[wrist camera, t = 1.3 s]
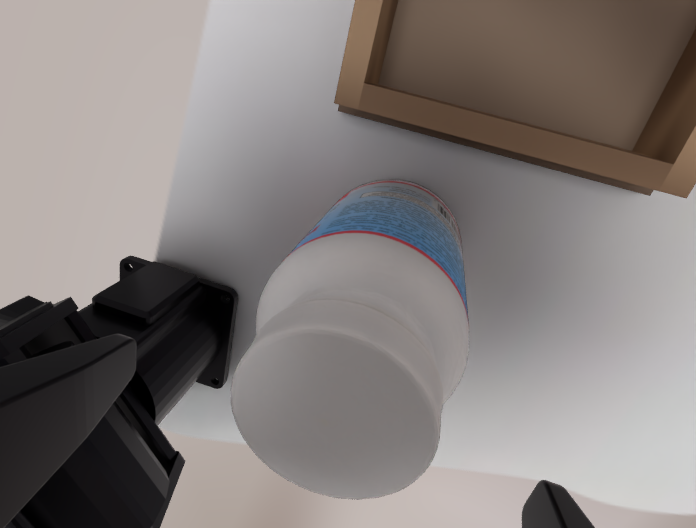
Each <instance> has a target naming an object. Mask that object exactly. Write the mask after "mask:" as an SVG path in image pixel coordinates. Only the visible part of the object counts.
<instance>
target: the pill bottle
mask: <svg viewBox="0 0 696 528" xmlns="http://www.w3.org/2000/svg"><path fill="white" fill-rule="evenodd" d="M468 353H469V322H468V311H467V300H466V287H465V276H464V265H463V255H462V245H461V237H460V233H459V228H458V226H457V223H456V220H455V218H454V216H453V214H452V213H451V211H450V210H449V208H448V207H447V206H446V204H445V203H444V202H443V201H442V200H441V199H440V198H439V197H438V196H437V195H435V194H434V193H433V192H431V191H430V190H428V189H426V188H424V187H422V186H420V185H418V184H415V183H412V182H407V181H402V180H381V181H375V182H370V183H367V184H364V185H361V186H359V187H356V188H355V189H353V190H351V191H350V192H348V193H347V194H346V195H344V196H343V197H342V198H341V199H340V200H339V201H338V202H337V203H336V204H335V205H334V206H333V207H332V208H331V209H330V210H329V211H328V212H327V214H326V215H325V216H324V217H323V218H322V219H321V220H320V221H319V222H318V223H317V224H316V226H315V227H314V228H313V229H312V230H311V231H310V232H309V233H308V234H307V235H306V236H305V237H304V238H303V240H302V241H301V242H299V243H298V245H297V246H296V247H295V249H294V250H293V251H292V252H291V253H290V254H289V255H288V256H287V257H286V258H285V259H284V260H283V262H282V263H281V264H280V265H279V266H278V268H277V269H276V270H275V271H274V273H273V274H272V275H271V277H270V278H269V280H268V282H267V284H266V286H265V287H264V289H263V292H262V294H261V297H260V300H259V304H258V308H257V314H256V337H255V339H254V340H253V342H252V344H251V346H250V347H249V348H248V350H247V351H246V353H245V354H244V355H243V357H242V359H241V360H240V362H239V363H238V366H237V368H236V370H235V373H234V376H233V379H232V385H231V406H232V412H233V415H234V418H235V422H236V424H237V427H238V429H239V431H240V433H241V435H242V437H243V438H244V440H245V441H246V443H247V444H248V445H249V447H250V448H251V449H252V451H253V452H254V453H255V454H256V455H257V456H258V457H259V458H260V460H261V461H262V462H264V463H265V464H266V465H267V466H268V467H269V468H270V469H272V470H273V471H274V472H276V473H277V474H279V475H280V476H282V477H283V478H285V479H287V480H288V481H290V482H292V483H294V484H296V485H298V486H300V487H302V488H304V489H307V490H310V491H312V492H315V493H318V494H322V495H326V496H330V497H335V498H343V499H357V500H358V499H369V498H377V497H382V496H385V495H389V494H392V493H395V492H398V491H400V490H402V489H404V488H406V487H407V486H409V485H410V484H412V483H413V482H414V481H415V480H417V479H418V478H419V477H420V476H421V475H422V474H423V473H424V472H425V471H426V469H427V468H428V467H429V465H430V463H431V462H432V460H433V458H434V456H435V453H436V450H437V447H438V443H439V438H440V427H441V413H442V409H443V404H444V403H445V402H446V400H447V399H448V398H449V397H450V396H451V395H452V393H453V392H454V390H455V389H456V387H457V385H458V384H459V382H460V380H461V378H462V375H463V373H464V370H465V367H466V363H467V359H468Z"/></svg>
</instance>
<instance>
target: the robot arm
mask: <svg viewBox="0 0 696 528" xmlns="http://www.w3.org/2000/svg"><path fill="white" fill-rule="evenodd" d="M129 264H131V266H132V267H133V268H131V267H130V265H129ZM224 295H227V296H228V297H229V298H230V300H227V299H226V298H225V296H224ZM237 301H238V295H237V293H236V292H235V291H234V290H233V289H232V288H230V287H227V286H223V285H220V284H217V283H214V282H211V281H208V280H205V279H202V278H199V277H197V276H196V275H194V274H191V273H188V272H185V271H182V270H179V269H176V268H173V267H170V266H166V265H163V264H160V263H157V262H150V261H147V260H144V259H141V258H137V257H134V256H128V257H126V258H124V259H122V260H121V262H120V281H119V282H117V283H115V284H114V285H112V286H110V287H108V288H107V289H105V290H103V291H102V292H100V293H98V294H97V295H95V296H94V297H93V298H92V304H90V305H88V306H87V307H85V308H83V309H82V310H80V311H77V309H78V307H77V305H76V304H75V302H74V301H73V300H72V298H71V297H70V298H67V299H65V300H63V301H60V302H58V303H56V304H52V303H51V302H48V303H47V302H45V303H44V302H42V301H39V300H37V299H35V298H33V297H30V296H26V297H25V298H22V299H20V300H18V301H16V302H14V303H12V304H10V305H8V306H6V307H4V308H2V309H0V528H160V526H161V523H162V520H163V518H164V515H165V513H166V510H167V508H168V505H169V502H170V500H171V497H172V494H173V491H174V489H175V487H176V484H177V481H178V479H179V476H180V474H181V471H182V468H183V466H184V463H185V460H184V459H183V457H182V456H181V454H180V453H179V452H178V451H175V450H174V448H173V447H172V446H171V444H170V443H169V441H168V440H167V438H166V437H165V435H164V434H163V433H162V431H161V430H160V428H159V427H158V424H159V423H160V422H161V421H162V420H163V419H164V417H165V416H166V415H167V414H168V413H169V412H170V411H171V409H172V408H173V407H174V406H175V405H176V404H177V402H178V401H179V400H180V399H181V398H182V397H183V395H184V394H185V393H186V392H187V391H188V390H189V388H190V387H191V386H192V385H193V384H194V383H195V381H196V382H199V383H201V384H204V385H207V386H210V387H213V388H217V389H218V388H221V387H222V386H223V385H224V384H225V382H226V380H227V373H228V366H229V359H230V351H231V344H232V337H233V330H234V323H235V315H236V308H237ZM216 378H217V379H218V380H216ZM522 528H595V527H594V526H593V525H592V523H591V522H590V521H589V519H588V518H587V517H586V515H585V514H584V513H583V511H582V510H581V509H580V507H579V506H578V505H577V504H576V502H575V501H574V500H573V498H572V497H571V496H570V494H569V493H568V492H567V490H566V489H565V488H564V487H562V486H560V485H558V484H555V483H552V482H549V481H546V480H541V481H540V482H539V483H538V484H537V485H536V487H535V489H534V490H533V492H532V493H531V495H530V496H529V498H528V500H527V501H526V503H525V505H524V507H523V511H522Z"/></svg>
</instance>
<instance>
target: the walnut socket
mask: <svg viewBox="0 0 696 528" xmlns="http://www.w3.org/2000/svg"><path fill="white" fill-rule="evenodd" d="M334 103H335V104H339V108H338V111H340V112H344V113H348V114H351V115H355V116H359V117H362V118H366V119H370V120H373V121H377V122H381V123H384V124H388V125H392V126H395V127H399V128H403V129H406V130H410V131H414V132H417V133H421V134H425V135H428V136H432V137H436V138H439V139H443V140H447V141H450V142H454V143H458V144H462V145H465V146H469V147H473V148H476V149H480V150H484V151H487V152H491V153H495V154H498V155H502V156H506V157H509V158H513V159H517V160H520V161H524V162H528V163H531V164H535V165H539V166H542V167H546V168H550V169H553V170H557V171H561V172H564V173H568V174H572V175H575V176H579V177H583V178H586V179H590V180H594V181H598V182H601V183H605V184H609V185H612V186H616V187H620V188H623V189H627V190H631V191H634V192H638V193H642V194H645V195H649V196H650V195H651V193H652V192H653V190H657V191H661V192H665V193H668V194H672V195H676V196H680V197H683V198H687V197H688V195H689V193H690V192H691V190H692V188H693V187H694V185H695V183H696V0H355V4H354V9H353V14H352V19H351V23H350V28H349V33H348V38H347V43H346V48H345V53H344V57H343V62H342V67H341V72H340V77H339V82H338V87H337V91H336V96H335V101H334Z"/></svg>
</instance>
